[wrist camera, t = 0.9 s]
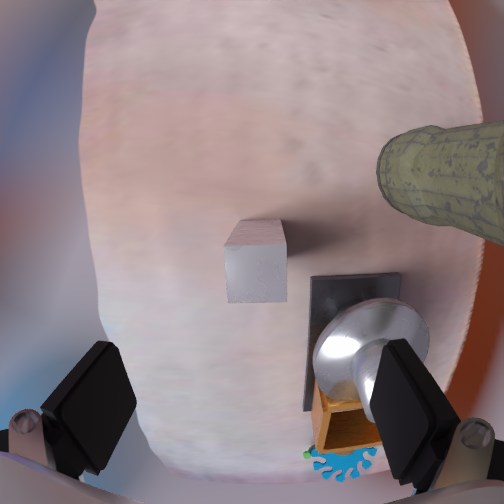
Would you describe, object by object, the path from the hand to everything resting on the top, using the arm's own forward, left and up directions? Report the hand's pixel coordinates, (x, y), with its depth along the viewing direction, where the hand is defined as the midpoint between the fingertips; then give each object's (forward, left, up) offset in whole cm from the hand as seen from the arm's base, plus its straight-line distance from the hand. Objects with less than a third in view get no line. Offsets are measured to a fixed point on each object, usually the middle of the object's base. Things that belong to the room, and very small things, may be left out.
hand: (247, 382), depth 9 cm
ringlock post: (+14, +10, -20) cm, 27 cm away
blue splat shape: (+31, +11, -20) cm, 39 cm away
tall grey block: (0, 0, -20) cm, 20 cm away
